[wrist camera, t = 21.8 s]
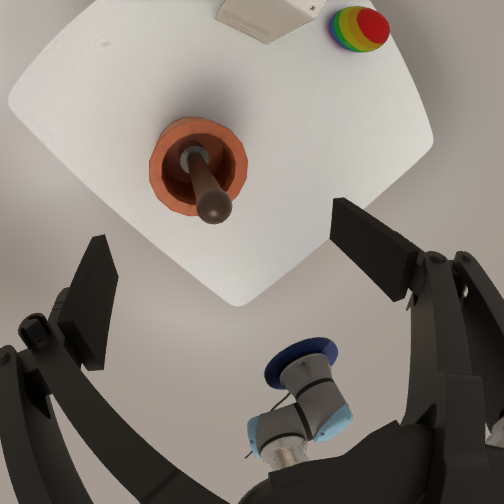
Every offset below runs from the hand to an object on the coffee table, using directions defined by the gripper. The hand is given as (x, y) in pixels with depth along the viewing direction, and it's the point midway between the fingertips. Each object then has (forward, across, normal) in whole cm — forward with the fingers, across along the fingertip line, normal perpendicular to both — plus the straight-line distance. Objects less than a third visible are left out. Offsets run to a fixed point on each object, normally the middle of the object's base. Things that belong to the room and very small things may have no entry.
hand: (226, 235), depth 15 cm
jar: (+27, 0, 0) cm, 27 cm away
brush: (+26, 0, 0) cm, 26 cm away
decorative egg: (+27, +25, +20) cm, 42 cm away
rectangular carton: (+27, +10, +22) cm, 36 cm away
